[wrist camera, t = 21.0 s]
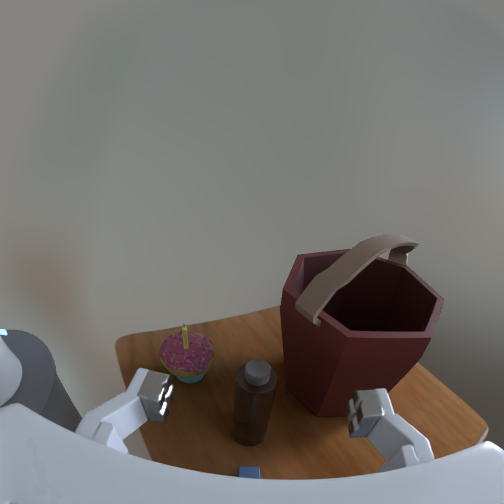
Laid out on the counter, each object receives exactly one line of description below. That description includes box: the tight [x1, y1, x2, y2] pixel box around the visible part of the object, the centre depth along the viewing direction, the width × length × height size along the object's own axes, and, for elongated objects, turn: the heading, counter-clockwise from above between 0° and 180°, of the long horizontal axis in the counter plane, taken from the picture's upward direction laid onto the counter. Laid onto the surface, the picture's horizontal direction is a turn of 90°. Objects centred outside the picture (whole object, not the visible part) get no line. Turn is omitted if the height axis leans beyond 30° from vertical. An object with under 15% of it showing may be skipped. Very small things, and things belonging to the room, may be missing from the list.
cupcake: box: [159, 325, 215, 383], centre depth 39 cm, size 9×8×12 cm
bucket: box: [280, 235, 444, 416], centre depth 36 cm, size 24×22×25 cm
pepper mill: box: [232, 359, 278, 446], centre depth 29 cm, size 4×4×14 cm
